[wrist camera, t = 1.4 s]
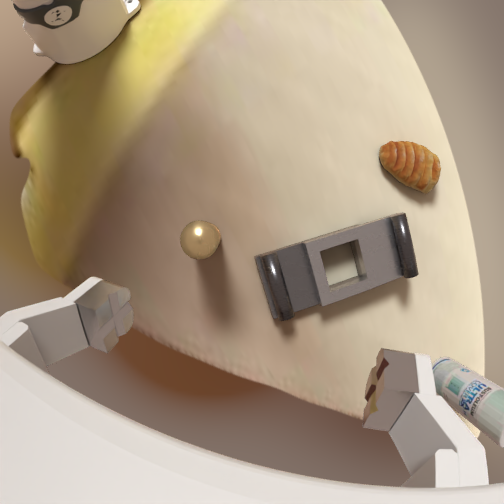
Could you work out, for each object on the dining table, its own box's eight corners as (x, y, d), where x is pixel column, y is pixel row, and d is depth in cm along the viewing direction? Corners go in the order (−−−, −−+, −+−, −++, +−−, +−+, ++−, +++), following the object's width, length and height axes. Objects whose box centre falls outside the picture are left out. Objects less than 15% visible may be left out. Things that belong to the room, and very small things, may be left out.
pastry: (372, 176, 41) (385, 172, 37) (379, 132, 41) (391, 125, 37) (426, 196, 42) (441, 194, 38) (431, 154, 42) (445, 149, 38)
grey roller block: (272, 315, 41) (278, 327, 36) (254, 256, 40) (258, 260, 35) (405, 268, 42) (424, 272, 37) (392, 213, 41) (411, 211, 36)
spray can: (440, 349, 44) (524, 397, 24) (459, 364, 45) (536, 410, 25) (417, 382, 44) (493, 443, 24) (437, 395, 45) (508, 451, 25)
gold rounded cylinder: (188, 227, 40) (175, 227, 30) (215, 218, 40) (212, 215, 30) (196, 255, 40) (186, 264, 30) (224, 246, 40) (223, 252, 30)
